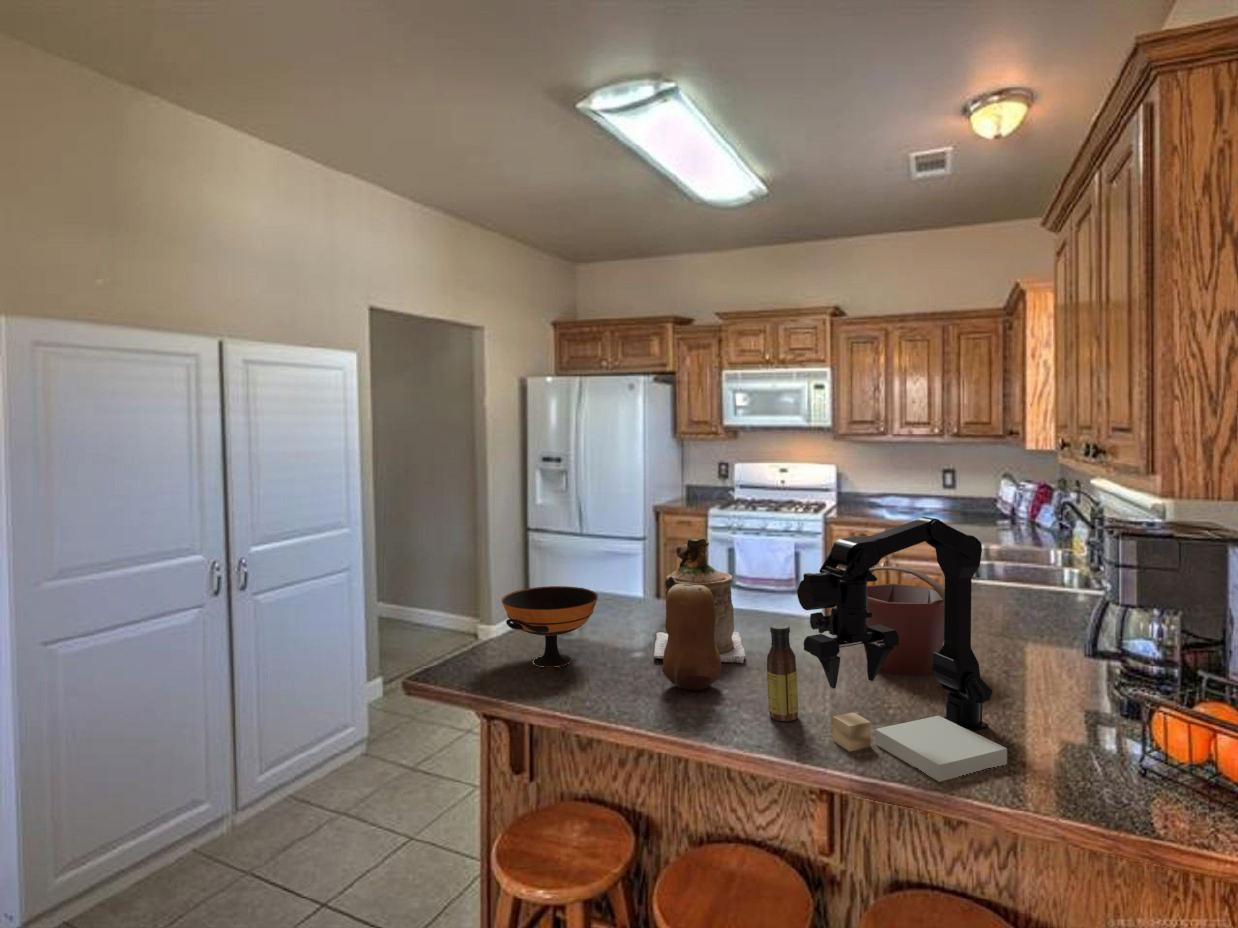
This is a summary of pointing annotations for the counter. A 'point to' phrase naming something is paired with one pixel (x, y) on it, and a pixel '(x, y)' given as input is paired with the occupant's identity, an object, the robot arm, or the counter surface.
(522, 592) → the cup
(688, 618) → the butternut squash
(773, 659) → the sauce bottle
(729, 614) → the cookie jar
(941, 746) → the plinth
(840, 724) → the pine cube
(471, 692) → the counter surface
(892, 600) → the bucket
